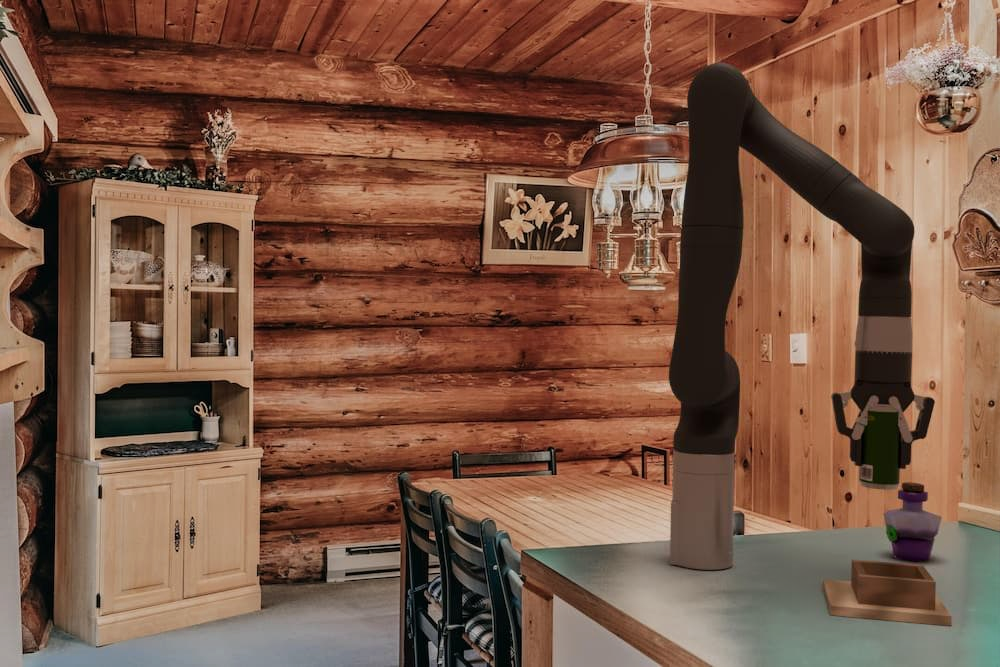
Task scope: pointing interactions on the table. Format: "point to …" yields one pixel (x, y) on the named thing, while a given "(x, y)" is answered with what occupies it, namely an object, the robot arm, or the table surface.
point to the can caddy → (887, 594)
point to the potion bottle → (912, 525)
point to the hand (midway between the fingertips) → (879, 466)
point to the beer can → (880, 448)
